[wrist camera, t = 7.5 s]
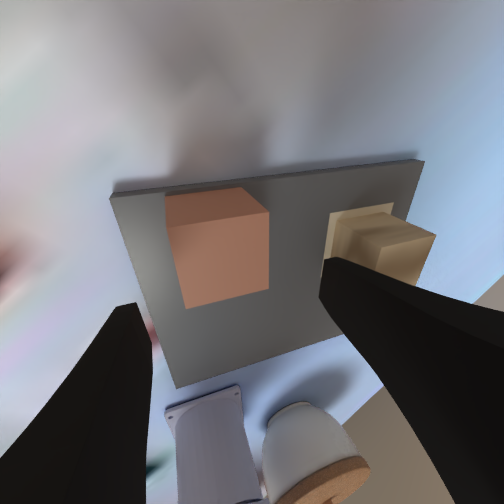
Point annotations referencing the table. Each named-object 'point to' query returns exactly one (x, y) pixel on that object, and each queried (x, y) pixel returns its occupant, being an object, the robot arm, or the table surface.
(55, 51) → the table surface
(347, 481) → the lidded bowl
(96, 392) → the robot arm
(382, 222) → the maple block
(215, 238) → the terracotta block
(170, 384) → the table surface
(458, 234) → the table surface
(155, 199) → the plate
